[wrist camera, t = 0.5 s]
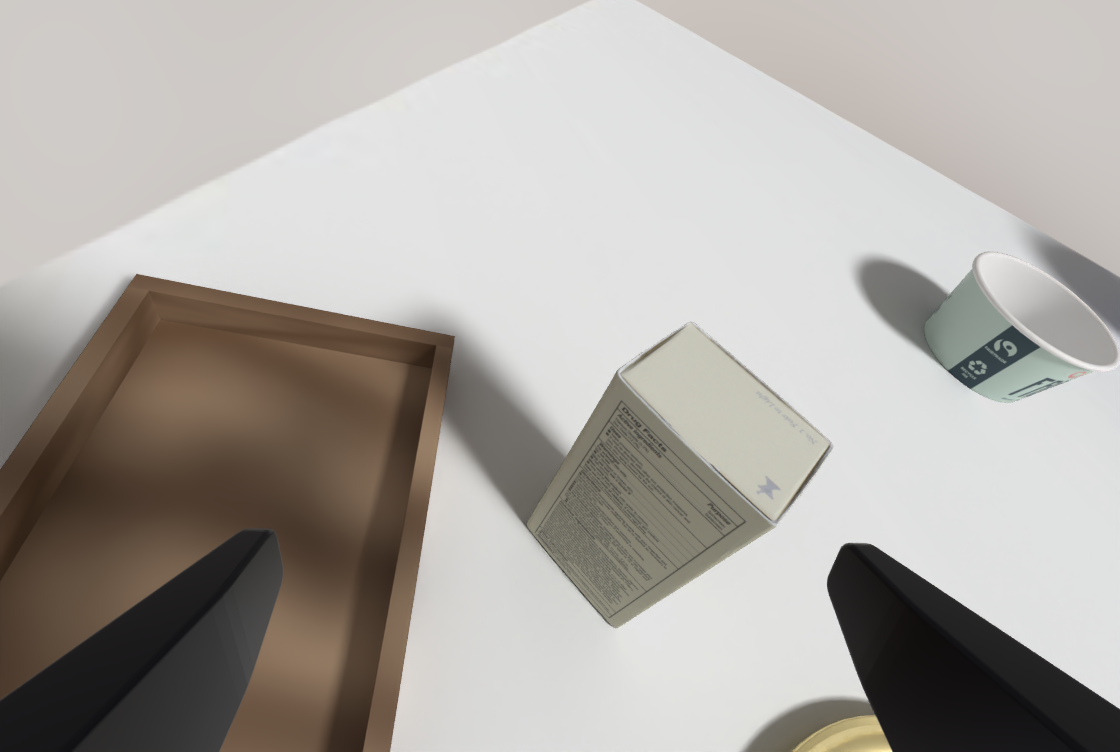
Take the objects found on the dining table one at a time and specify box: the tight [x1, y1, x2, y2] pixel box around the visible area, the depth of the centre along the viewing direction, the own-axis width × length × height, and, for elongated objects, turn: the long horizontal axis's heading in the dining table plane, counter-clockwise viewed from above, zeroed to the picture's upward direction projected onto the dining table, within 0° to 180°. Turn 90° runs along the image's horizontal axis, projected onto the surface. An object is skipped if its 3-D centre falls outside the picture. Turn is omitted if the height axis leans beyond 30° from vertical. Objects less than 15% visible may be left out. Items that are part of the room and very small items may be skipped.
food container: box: [924, 252, 1120, 403], centre depth 43 cm, size 12×12×6 cm
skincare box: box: [527, 322, 833, 628], centre depth 21 cm, size 6×4×12 cm
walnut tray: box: [0, 274, 455, 752], centre depth 20 cm, size 20×14×2 cm
